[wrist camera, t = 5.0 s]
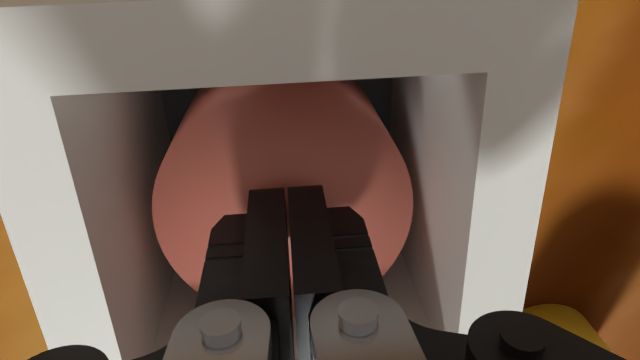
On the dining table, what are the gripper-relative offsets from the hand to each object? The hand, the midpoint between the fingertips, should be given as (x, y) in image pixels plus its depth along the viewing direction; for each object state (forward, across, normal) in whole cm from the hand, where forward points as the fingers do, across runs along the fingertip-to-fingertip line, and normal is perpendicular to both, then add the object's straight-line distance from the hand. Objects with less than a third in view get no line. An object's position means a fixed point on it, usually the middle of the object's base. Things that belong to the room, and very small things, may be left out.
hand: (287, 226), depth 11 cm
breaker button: (+4, 0, 0) cm, 4 cm away
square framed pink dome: (+8, 0, 0) cm, 8 cm away
